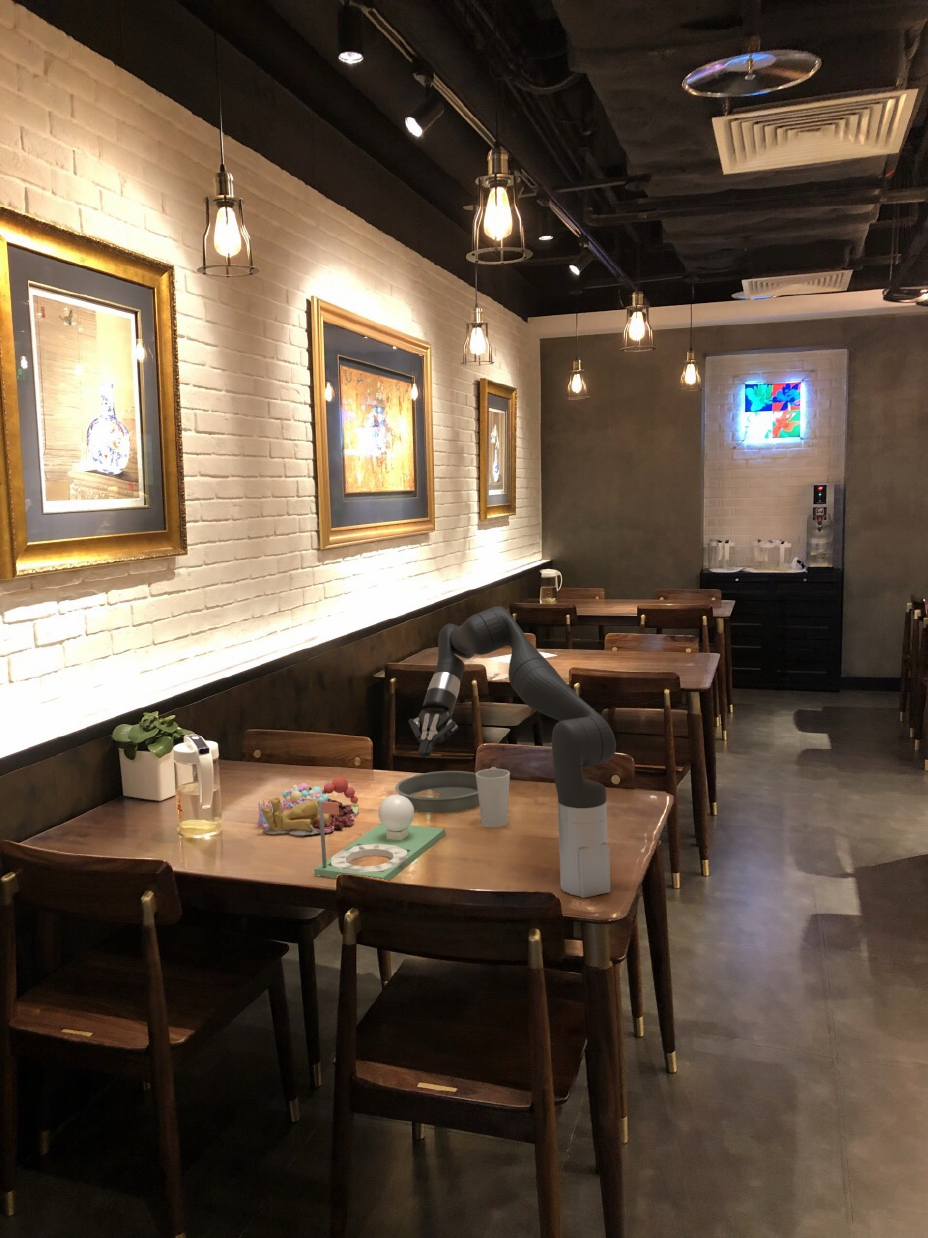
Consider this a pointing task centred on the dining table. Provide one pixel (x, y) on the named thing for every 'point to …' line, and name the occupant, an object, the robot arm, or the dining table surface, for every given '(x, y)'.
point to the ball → (396, 813)
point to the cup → (493, 796)
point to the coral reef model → (308, 809)
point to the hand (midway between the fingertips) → (423, 756)
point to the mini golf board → (376, 848)
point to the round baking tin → (441, 791)
